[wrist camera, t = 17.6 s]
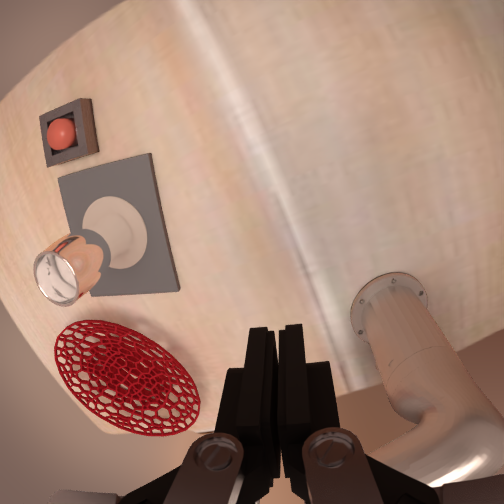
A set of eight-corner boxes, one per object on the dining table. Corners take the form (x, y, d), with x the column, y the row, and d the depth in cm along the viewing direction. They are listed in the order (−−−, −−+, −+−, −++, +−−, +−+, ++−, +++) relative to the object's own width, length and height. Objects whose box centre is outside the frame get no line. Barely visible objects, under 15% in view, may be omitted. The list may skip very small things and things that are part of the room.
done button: (83, 143, 38) (72, 145, 35) (61, 151, 39) (49, 153, 36) (79, 114, 37) (67, 114, 34) (57, 123, 37) (45, 124, 34)
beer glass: (103, 259, 44) (47, 310, 30) (88, 216, 42) (23, 255, 28) (141, 252, 43) (89, 306, 29) (127, 205, 41) (65, 243, 27)
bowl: (53, 360, 57) (42, 374, 52) (95, 272, 47) (80, 286, 42) (160, 434, 62) (154, 450, 57) (238, 375, 52) (234, 395, 47)
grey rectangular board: (180, 288, 46) (178, 292, 45) (94, 293, 48) (90, 297, 47) (150, 152, 39) (147, 153, 38) (61, 176, 41) (56, 178, 40)
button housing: (99, 151, 40) (88, 153, 37) (58, 164, 40) (47, 167, 38) (91, 99, 37) (79, 98, 34) (51, 115, 38) (39, 116, 35)
